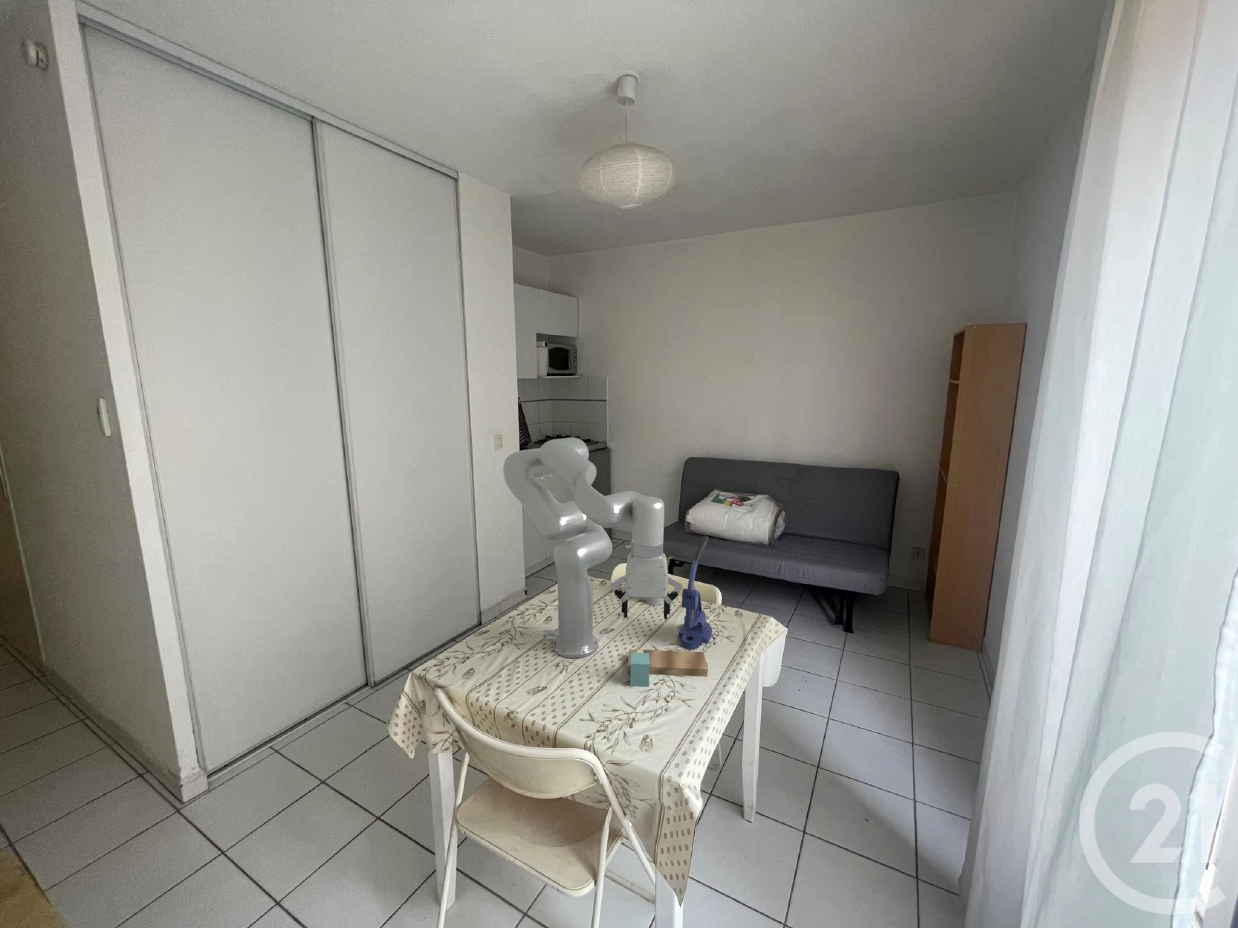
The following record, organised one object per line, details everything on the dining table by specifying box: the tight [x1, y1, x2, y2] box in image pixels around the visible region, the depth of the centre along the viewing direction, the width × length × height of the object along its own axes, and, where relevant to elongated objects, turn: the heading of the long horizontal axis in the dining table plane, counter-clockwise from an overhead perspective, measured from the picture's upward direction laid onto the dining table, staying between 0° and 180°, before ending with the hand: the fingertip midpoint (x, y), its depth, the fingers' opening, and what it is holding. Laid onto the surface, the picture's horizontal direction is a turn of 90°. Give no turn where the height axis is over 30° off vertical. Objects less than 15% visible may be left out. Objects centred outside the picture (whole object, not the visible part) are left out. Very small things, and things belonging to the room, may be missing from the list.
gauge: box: [629, 649, 650, 688], centre depth 125 cm, size 4×10×6 cm, turn 177°
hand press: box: [678, 535, 713, 651], centre depth 142 cm, size 19×9×28 cm, turn 157°
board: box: [627, 648, 709, 677], centre depth 129 cm, size 20×8×2 cm, turn 87°
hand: (645, 616), depth 121 cm, fingers open, 9 cm apart
